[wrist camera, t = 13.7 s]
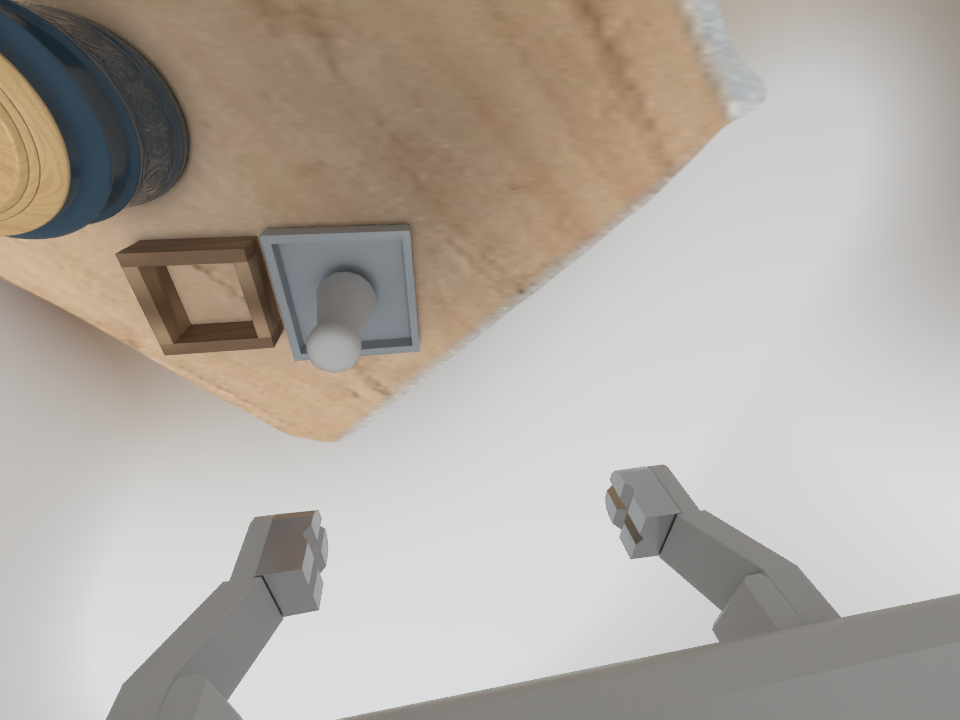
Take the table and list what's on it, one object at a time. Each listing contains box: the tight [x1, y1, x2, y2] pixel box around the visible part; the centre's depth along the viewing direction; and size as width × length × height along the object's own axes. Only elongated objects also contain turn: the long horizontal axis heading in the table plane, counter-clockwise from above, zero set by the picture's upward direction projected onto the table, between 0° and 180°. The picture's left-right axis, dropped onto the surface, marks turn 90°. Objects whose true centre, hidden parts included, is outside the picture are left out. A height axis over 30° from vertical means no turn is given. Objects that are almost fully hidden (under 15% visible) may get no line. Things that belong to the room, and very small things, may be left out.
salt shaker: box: [306, 272, 376, 373], centre depth 37 cm, size 6×6×13 cm
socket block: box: [115, 236, 283, 355], centre depth 39 cm, size 10×10×4 cm
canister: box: [0, 0, 188, 239], centre depth 25 cm, size 13×13×18 cm
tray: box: [260, 224, 420, 361], centre depth 42 cm, size 14×14×2 cm
